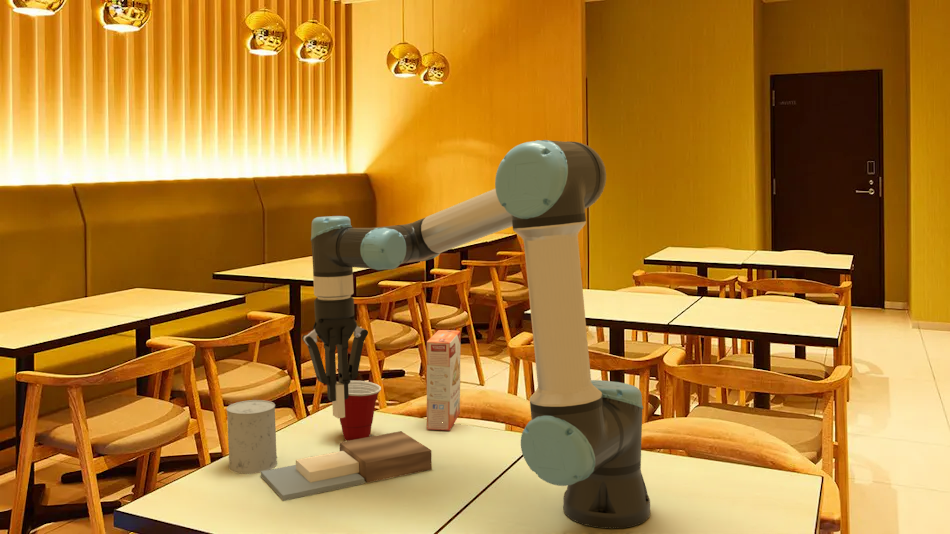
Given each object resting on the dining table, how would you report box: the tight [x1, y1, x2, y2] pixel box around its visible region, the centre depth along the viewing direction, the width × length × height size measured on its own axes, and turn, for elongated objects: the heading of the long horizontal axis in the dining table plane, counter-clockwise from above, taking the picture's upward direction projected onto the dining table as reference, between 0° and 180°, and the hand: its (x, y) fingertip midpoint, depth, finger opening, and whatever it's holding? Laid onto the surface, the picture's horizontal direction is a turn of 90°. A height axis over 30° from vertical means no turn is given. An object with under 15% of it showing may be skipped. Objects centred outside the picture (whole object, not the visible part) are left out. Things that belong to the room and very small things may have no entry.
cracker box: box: [426, 329, 462, 432], centre depth 201 cm, size 14×6×21 cm, turn 171°
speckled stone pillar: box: [226, 399, 278, 475], centre depth 174 cm, size 10×10×12 cm
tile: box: [295, 450, 359, 483], centre depth 168 cm, size 8×10×2 cm
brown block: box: [338, 430, 433, 484], centre depth 174 cm, size 14×14×4 cm
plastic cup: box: [339, 380, 382, 441], centre depth 190 cm, size 11×11×12 cm
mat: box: [260, 464, 366, 502], centre depth 166 cm, size 14×16×1 cm
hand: (338, 416), depth 167 cm, fingers closed
